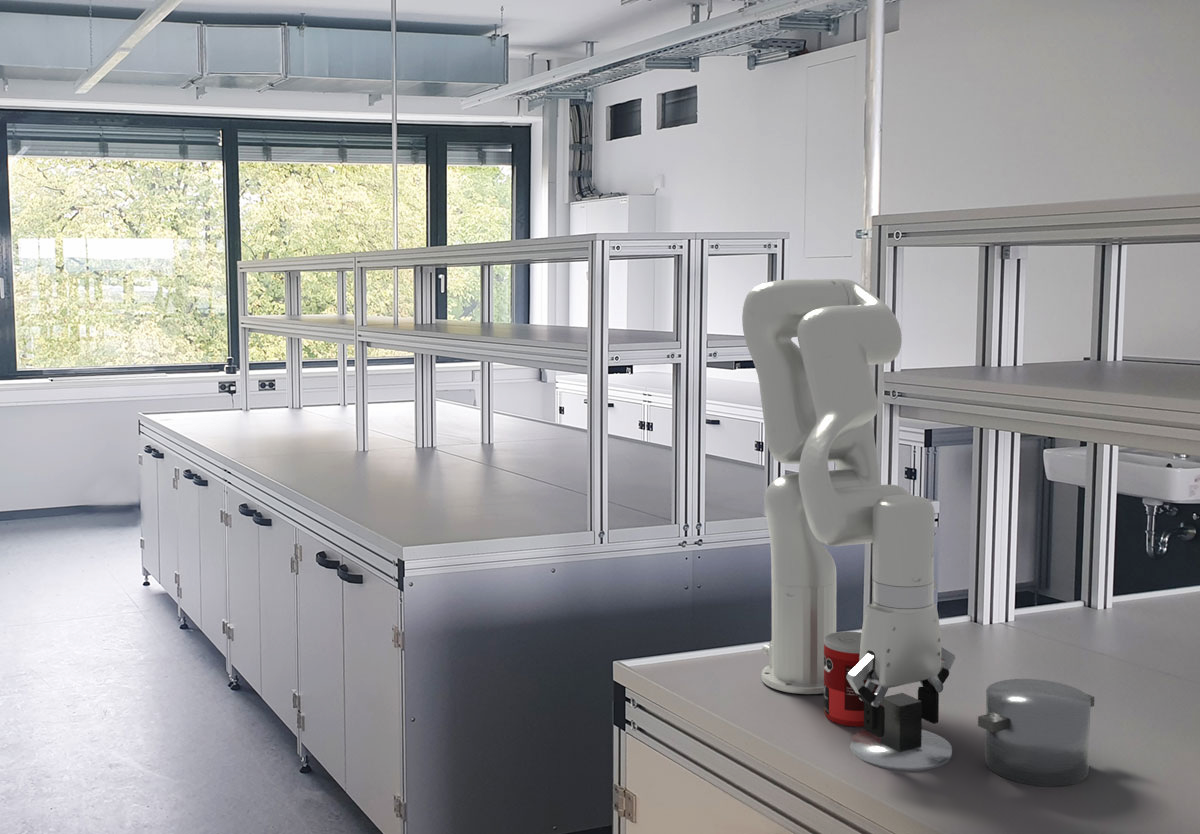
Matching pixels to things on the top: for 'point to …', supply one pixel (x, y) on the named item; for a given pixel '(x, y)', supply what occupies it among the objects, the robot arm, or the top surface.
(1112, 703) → the top surface
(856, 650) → the canned food
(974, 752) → the top surface
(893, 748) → the lid
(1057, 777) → the pot
